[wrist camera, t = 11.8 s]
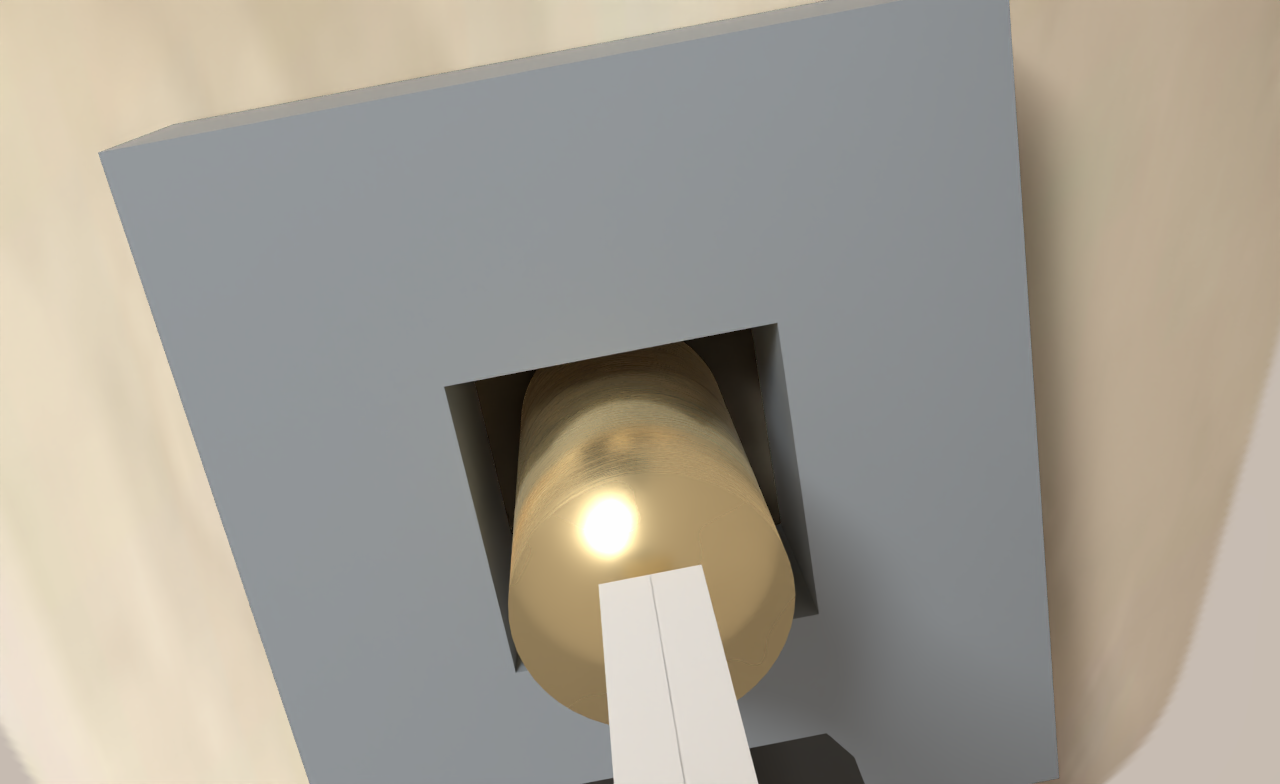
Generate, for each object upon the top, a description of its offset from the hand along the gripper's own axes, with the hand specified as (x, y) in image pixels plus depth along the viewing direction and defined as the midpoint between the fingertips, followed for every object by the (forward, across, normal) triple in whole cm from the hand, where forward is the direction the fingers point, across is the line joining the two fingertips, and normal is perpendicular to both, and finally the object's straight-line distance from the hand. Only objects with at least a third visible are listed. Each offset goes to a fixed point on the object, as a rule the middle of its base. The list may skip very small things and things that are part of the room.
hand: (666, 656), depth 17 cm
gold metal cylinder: (+9, 0, 0) cm, 9 cm away
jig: (+9, 0, 0) cm, 9 cm away
